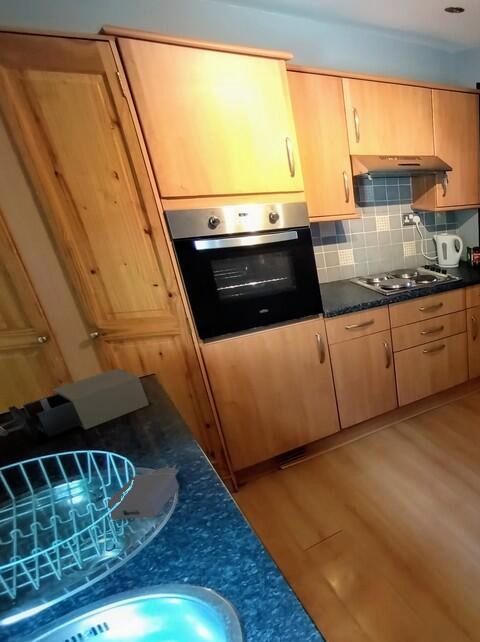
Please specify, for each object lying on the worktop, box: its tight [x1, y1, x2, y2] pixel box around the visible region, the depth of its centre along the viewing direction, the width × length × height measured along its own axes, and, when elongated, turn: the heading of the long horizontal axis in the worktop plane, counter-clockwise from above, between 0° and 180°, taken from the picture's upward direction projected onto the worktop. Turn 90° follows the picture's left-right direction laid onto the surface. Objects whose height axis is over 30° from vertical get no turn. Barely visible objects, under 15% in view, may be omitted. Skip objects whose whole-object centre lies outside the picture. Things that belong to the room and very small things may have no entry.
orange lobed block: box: [39, 398, 51, 411], centre depth 124 cm, size 8×4×3 cm
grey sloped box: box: [52, 368, 150, 430], centre depth 134 cm, size 16×13×10 cm
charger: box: [104, 464, 180, 521], centre depth 102 cm, size 5×9×15 cm
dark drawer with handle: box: [0, 393, 82, 445], centre depth 124 cm, size 19×12×8 cm, turn 151°
